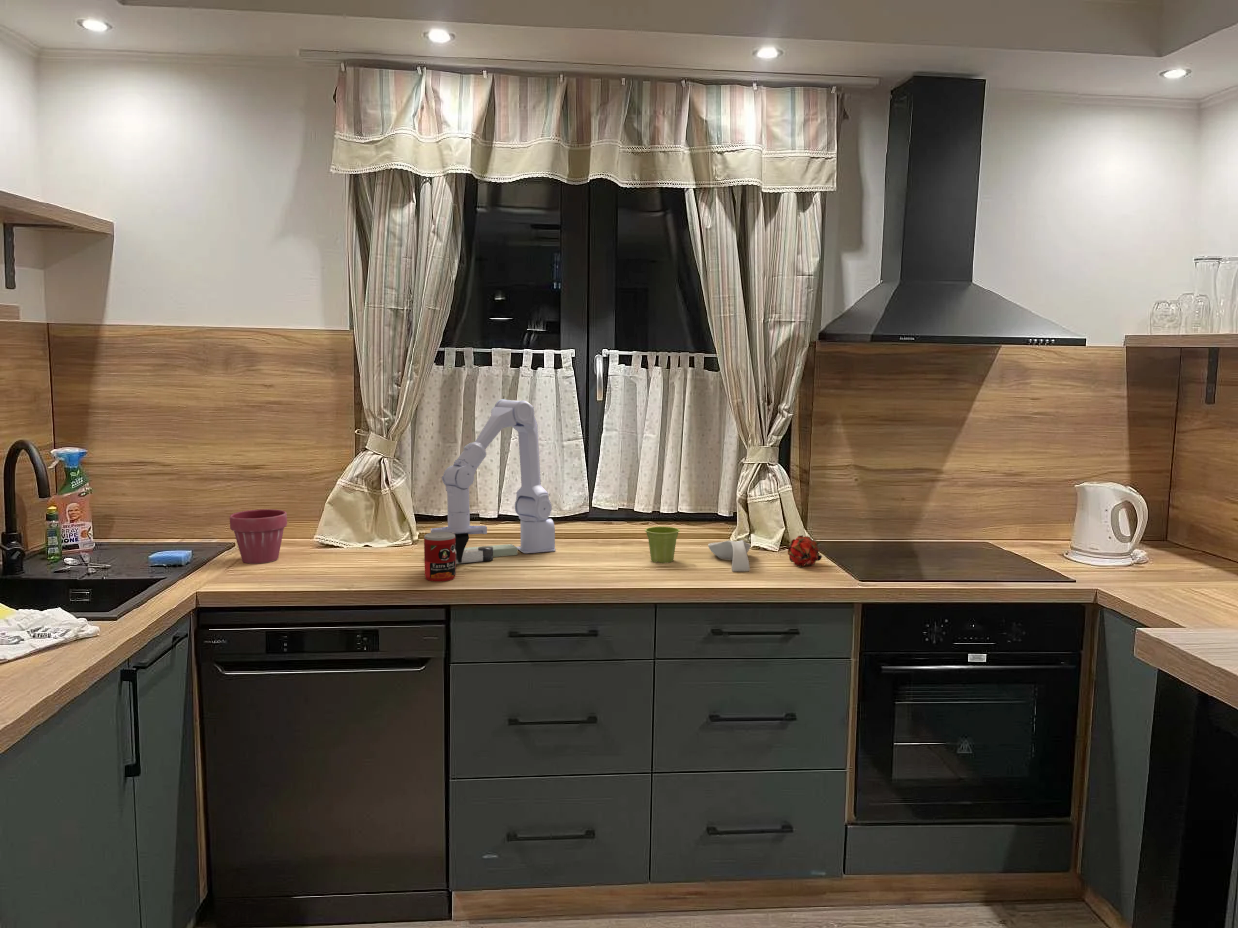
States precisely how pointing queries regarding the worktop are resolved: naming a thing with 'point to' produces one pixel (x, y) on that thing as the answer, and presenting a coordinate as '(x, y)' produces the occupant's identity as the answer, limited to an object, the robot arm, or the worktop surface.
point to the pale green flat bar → (500, 550)
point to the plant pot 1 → (259, 534)
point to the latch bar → (477, 555)
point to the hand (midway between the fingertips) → (459, 561)
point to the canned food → (440, 556)
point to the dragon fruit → (803, 551)
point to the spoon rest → (732, 553)
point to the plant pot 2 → (662, 543)
